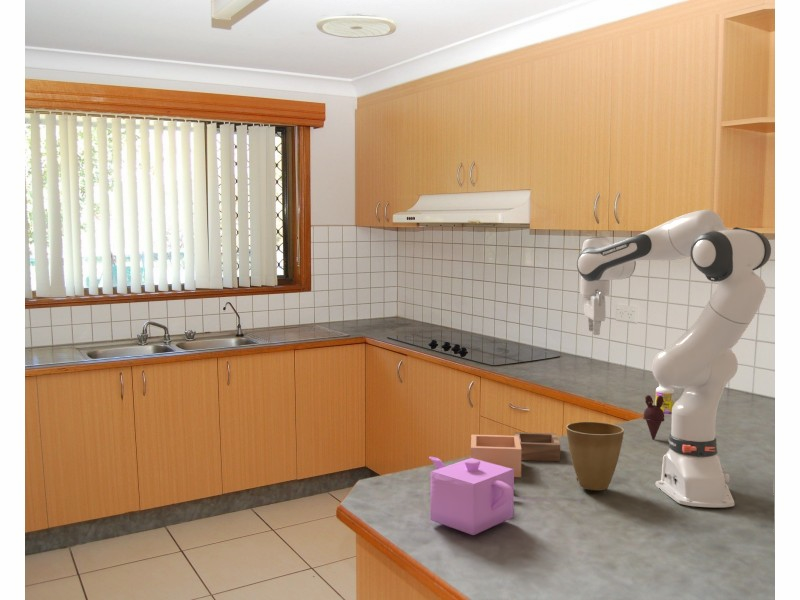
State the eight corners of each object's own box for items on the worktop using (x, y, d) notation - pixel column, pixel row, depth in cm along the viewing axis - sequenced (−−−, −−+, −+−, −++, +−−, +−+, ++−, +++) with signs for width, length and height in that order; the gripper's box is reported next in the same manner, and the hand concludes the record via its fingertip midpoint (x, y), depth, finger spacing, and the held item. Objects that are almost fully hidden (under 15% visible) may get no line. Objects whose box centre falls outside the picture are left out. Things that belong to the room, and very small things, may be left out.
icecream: (644, 442, 234) (646, 397, 233) (640, 436, 241) (641, 392, 240) (666, 443, 233) (668, 397, 232) (661, 437, 240) (662, 393, 239)
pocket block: (560, 461, 214) (560, 444, 213) (516, 459, 215) (516, 443, 215) (555, 448, 227) (555, 433, 226) (514, 447, 228) (514, 432, 228)
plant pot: (634, 489, 189) (636, 429, 188) (594, 499, 181) (595, 437, 180) (593, 473, 202) (594, 418, 201) (553, 482, 194) (554, 425, 193)
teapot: (449, 496, 184) (449, 443, 183) (530, 522, 166) (531, 463, 165) (408, 512, 173) (408, 455, 172) (491, 541, 156) (491, 479, 155)
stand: (521, 477, 199) (521, 449, 198) (470, 475, 200) (470, 447, 200) (518, 462, 213) (518, 435, 212) (471, 460, 214) (471, 434, 213)
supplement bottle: (652, 414, 273) (653, 381, 272) (658, 411, 278) (659, 378, 277) (669, 417, 269) (670, 383, 268) (676, 413, 274) (677, 380, 273)
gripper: (611, 291, 212) (610, 337, 213) (599, 287, 233) (598, 329, 234) (589, 291, 213) (588, 336, 214) (580, 287, 233) (579, 329, 234)
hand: (593, 332), depth 224 cm, fingers open, 8 cm apart
